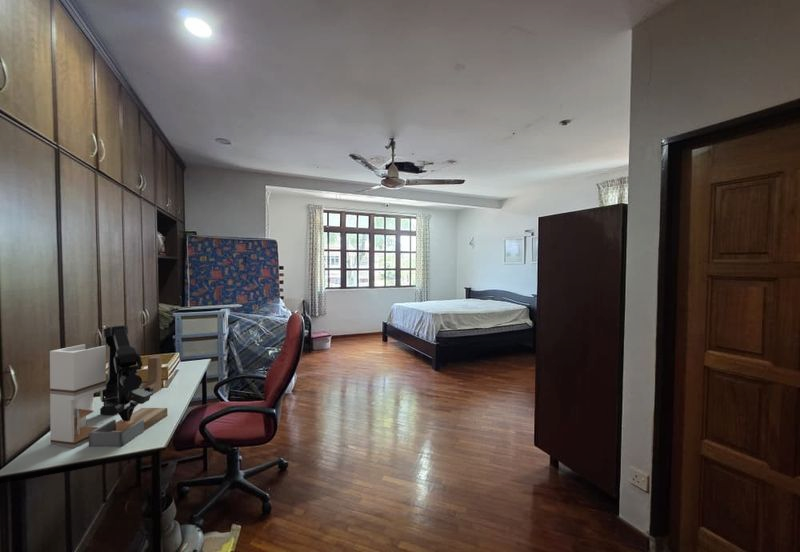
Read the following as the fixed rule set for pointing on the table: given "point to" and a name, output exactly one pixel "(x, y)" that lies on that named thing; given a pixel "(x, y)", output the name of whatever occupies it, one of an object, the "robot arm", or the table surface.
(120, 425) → the terracotta tile
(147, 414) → the wooden board
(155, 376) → the wooden block
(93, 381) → the white dispenser tower
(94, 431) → the charcoal tray
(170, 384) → the table surface
